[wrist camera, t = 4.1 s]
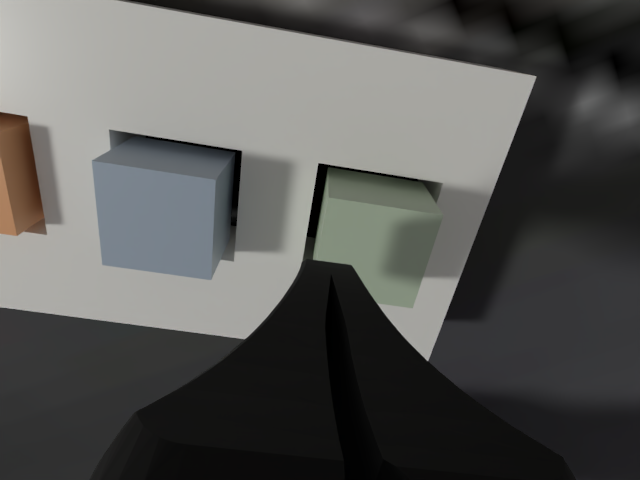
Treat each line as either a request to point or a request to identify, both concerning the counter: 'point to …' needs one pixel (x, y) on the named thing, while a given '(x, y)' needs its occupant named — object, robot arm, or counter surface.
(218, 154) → the slate blue button
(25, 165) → the terracotta button
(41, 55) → the button panel
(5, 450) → the counter surface
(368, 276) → the sage green button
